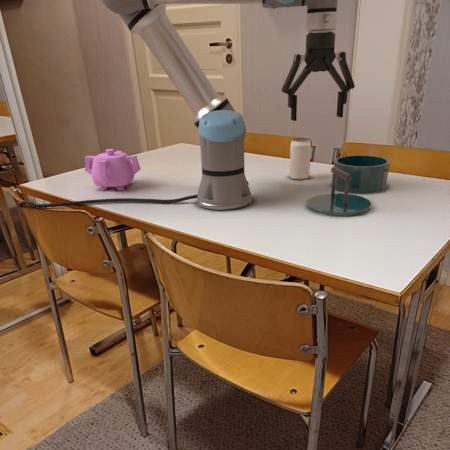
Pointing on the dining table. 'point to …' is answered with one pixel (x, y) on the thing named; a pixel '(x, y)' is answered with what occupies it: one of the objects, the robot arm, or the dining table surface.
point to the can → (300, 158)
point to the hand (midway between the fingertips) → (316, 118)
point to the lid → (339, 199)
